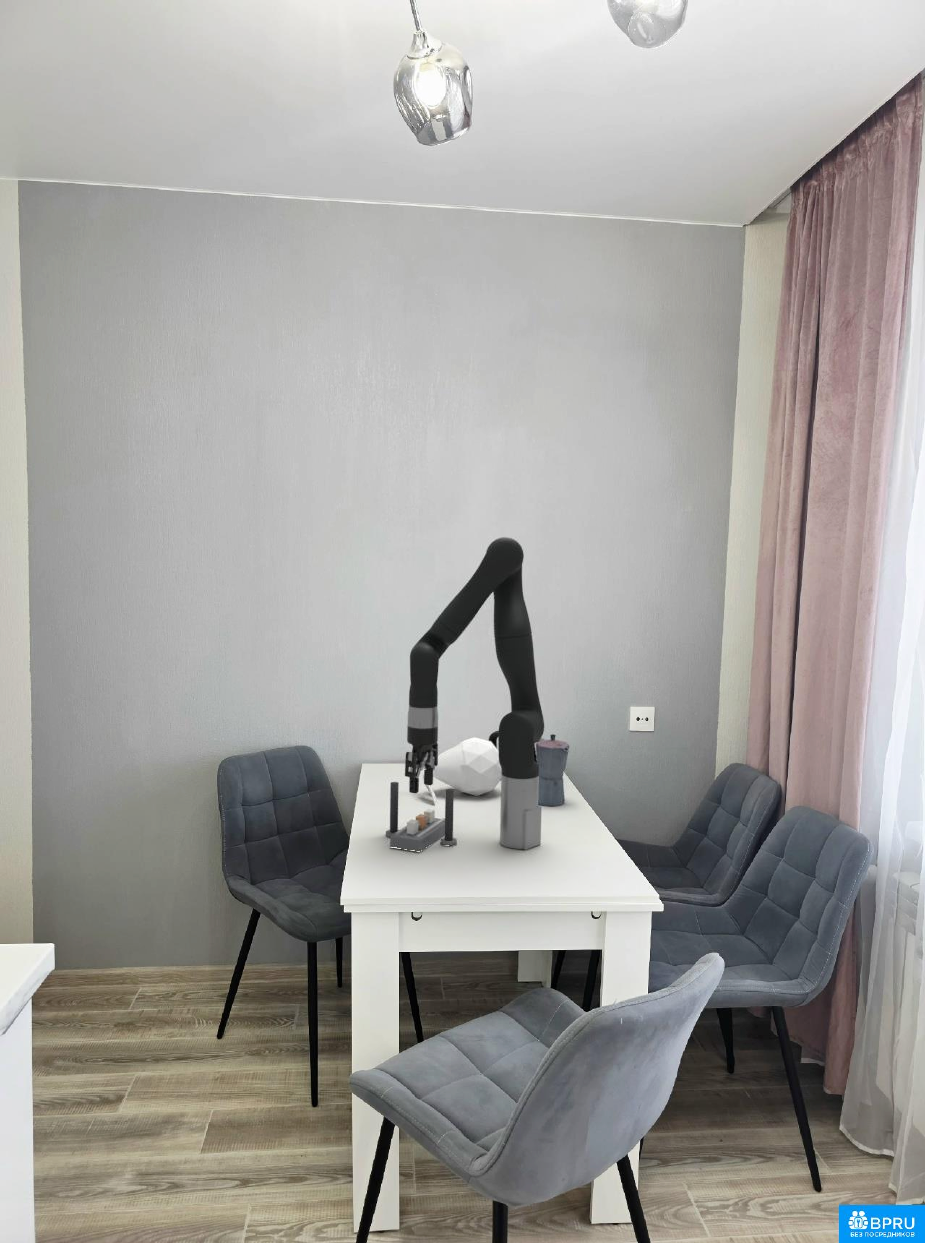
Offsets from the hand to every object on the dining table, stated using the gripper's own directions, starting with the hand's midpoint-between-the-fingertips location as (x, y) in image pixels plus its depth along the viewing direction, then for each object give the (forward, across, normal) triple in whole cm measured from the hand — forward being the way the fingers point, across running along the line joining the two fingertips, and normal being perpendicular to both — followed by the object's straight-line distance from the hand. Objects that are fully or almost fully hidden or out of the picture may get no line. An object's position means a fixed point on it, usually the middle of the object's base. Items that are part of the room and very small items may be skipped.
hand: (421, 788), depth 224 cm
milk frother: (+13, +70, +2) cm, 71 cm away
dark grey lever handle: (+13, 0, +7) cm, 15 cm away
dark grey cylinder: (+13, 0, -8) cm, 15 cm away
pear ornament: (+13, +42, +7) cm, 44 cm away
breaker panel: (+13, 0, 0) cm, 13 cm away
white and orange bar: (+10, 0, 0) cm, 10 cm away
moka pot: (+13, +46, -19) cm, 52 cm away
